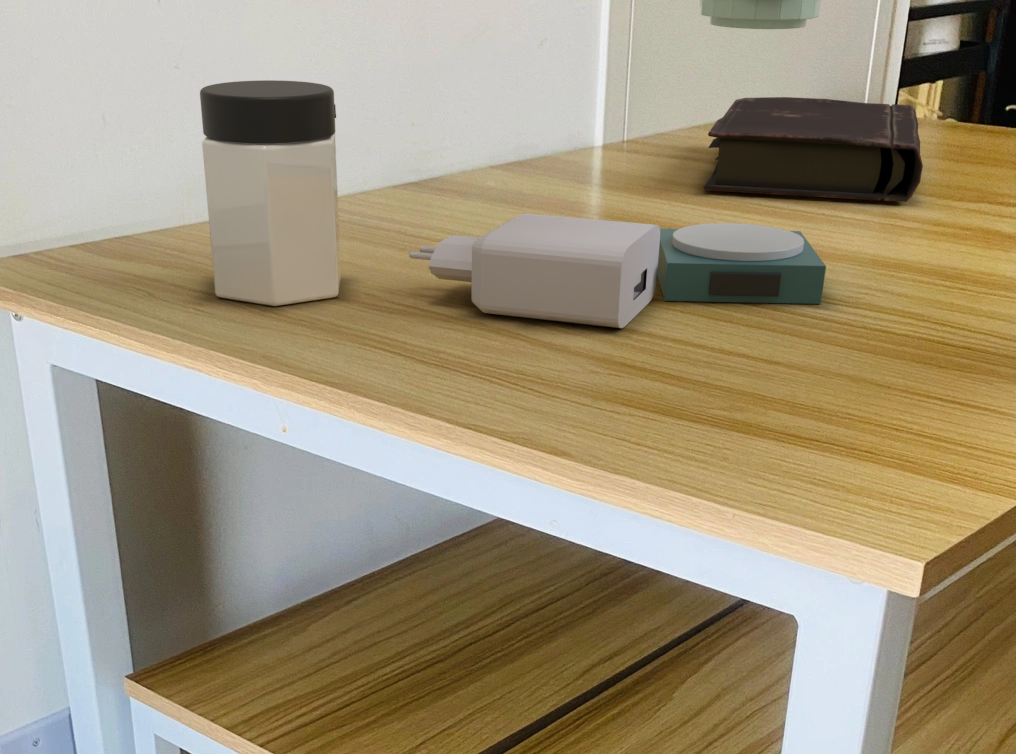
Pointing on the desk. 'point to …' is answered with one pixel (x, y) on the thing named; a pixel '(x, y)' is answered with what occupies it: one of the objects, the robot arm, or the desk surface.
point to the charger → (555, 268)
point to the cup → (760, 13)
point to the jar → (272, 190)
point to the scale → (739, 265)
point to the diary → (817, 149)
